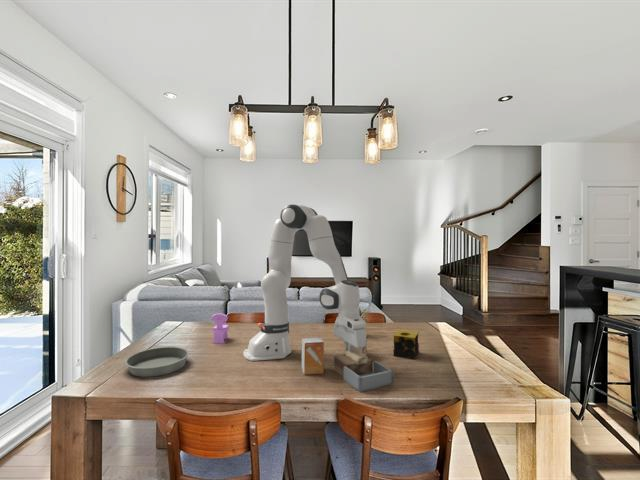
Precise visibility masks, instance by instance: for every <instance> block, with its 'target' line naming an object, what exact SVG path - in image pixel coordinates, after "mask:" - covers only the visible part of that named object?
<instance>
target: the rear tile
mask: <svg viewBox="0 0 640 480" xmlns="http://www.w3.org/2000/svg"><path fill="white" fill-rule="evenodd" d="M358 353H360V352H358V351H357V350H350V351H345V354H346V358H348V359H349V360H351V358H352V354H358Z"/></svg>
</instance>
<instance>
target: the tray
mask: <svg viewBox="0 0 640 480" xmlns="http://www.w3.org/2000/svg"><path fill="white" fill-rule="evenodd" d="M394 373H395V372H394V370H393V369H390V367H388V366H385V365H384V364H382V363H380V362H379V361H377V360H374V361H373V372H371V373H366V374H361V375H357V374H356V373H355V372H353V371H352V370H350V369H349V368H347V367H346V366H345V367H344V376H343V381H344V382H346V383H347V384H348V385H350V386H351V387H352V388H354V389H355V390H356V391H358V393H362V392H366V391H370V390H375V389H379V388H382V387H387V386H390V385H391V386H392V385H394Z"/></svg>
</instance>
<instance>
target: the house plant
mask: <svg viewBox="0 0 640 480" xmlns="http://www.w3.org/2000/svg"><path fill="white" fill-rule="evenodd" d="M368 309H370V308H365V309H363V310H361V308H360V306H359V312H360V316H361V318H362V319H363V320H364V321H365V322H367V320H368V319H366V318H368V316H367V315H366V314H367V313H369V312H371V311H370V310H368ZM367 310H368V311H367ZM365 315H366V316H365ZM364 316H365V317H364Z"/></svg>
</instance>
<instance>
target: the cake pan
mask: <svg viewBox="0 0 640 480" xmlns="http://www.w3.org/2000/svg"><path fill="white" fill-rule="evenodd" d="M189 355H190V352H189V351H188V350H187V349H185V348H183V347H178V346H161V347H160V346H159V347H153V348H148V349H144V350H140V351H138V352H136V353H133V354H132V355H129V356H128V357H127V358H126V359H125V360H124V364H125V366H126V367H128V371H129V373H130V374H131V375H132V376H136V377H147V378H148V377H157V376H158V377H159V376H163V375H167V374H170V373H173V372H176V371H178V370H180V369H181V368H183V367H184V366H185V364H186V360H187V358H188V357H189Z"/></svg>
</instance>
